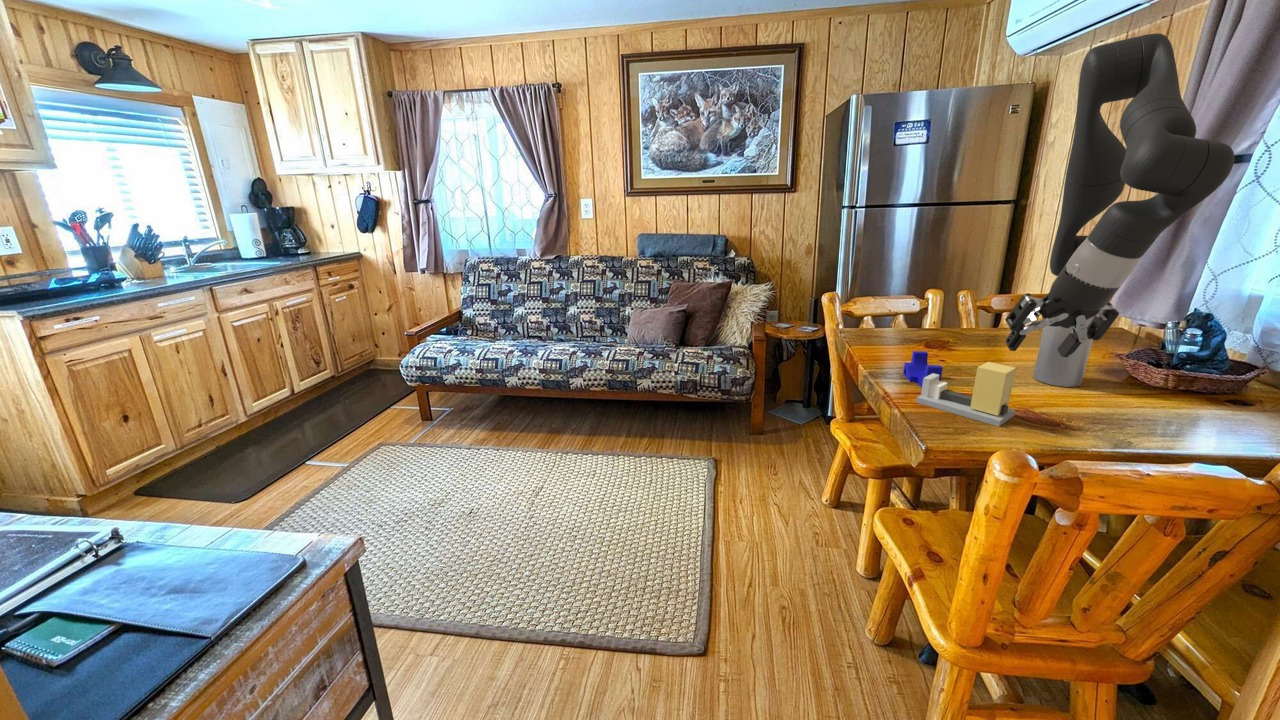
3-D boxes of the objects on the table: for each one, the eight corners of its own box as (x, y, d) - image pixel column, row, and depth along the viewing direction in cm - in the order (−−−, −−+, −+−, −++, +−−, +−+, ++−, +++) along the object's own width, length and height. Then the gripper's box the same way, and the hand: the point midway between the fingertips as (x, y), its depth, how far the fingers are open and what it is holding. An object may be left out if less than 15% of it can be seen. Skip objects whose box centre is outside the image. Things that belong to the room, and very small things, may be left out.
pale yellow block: (980, 401, 113) (988, 361, 110) (1007, 409, 109) (1016, 367, 106) (970, 408, 110) (977, 367, 107) (997, 415, 106) (1006, 373, 104)
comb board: (933, 393, 122) (936, 371, 120) (1014, 415, 110) (1019, 391, 108) (916, 402, 117) (919, 379, 115) (998, 426, 105) (1003, 401, 103)
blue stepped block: (903, 374, 135) (906, 350, 133) (922, 374, 134) (926, 351, 132) (917, 391, 123) (920, 366, 121) (938, 392, 123) (942, 367, 121)
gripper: (1131, 263, 84) (1068, 341, 95) (1036, 252, 85) (985, 331, 96) (1158, 291, 79) (1089, 371, 90) (1057, 280, 80) (1000, 360, 91)
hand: (1035, 350), depth 93 cm, fingers open, 8 cm apart
